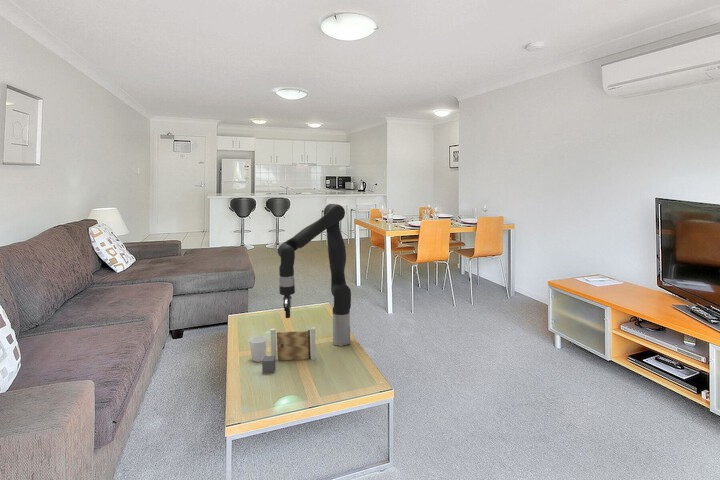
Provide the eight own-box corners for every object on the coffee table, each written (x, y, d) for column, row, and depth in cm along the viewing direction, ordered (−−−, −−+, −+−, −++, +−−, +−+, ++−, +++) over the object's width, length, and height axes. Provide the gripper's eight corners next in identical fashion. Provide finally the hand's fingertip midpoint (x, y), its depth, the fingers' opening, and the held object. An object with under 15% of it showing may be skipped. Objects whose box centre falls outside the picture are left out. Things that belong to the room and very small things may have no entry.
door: (310, 358, 182) (310, 329, 180) (310, 360, 179) (309, 331, 177) (278, 359, 181) (276, 330, 178) (277, 362, 178) (276, 332, 176)
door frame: (315, 358, 182) (315, 327, 180) (315, 359, 180) (314, 328, 178) (272, 359, 181) (271, 328, 178) (271, 361, 179) (270, 330, 176)
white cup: (258, 363, 176) (257, 344, 175) (247, 359, 181) (246, 340, 179) (270, 357, 183) (269, 338, 182) (259, 353, 187) (258, 335, 186)
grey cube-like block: (275, 367, 173) (275, 355, 172) (273, 373, 168) (273, 360, 167) (264, 368, 172) (264, 356, 171) (262, 373, 167) (262, 361, 166)
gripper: (293, 287, 177) (294, 322, 179) (295, 280, 190) (296, 313, 192) (277, 288, 176) (278, 322, 179) (281, 281, 189) (282, 313, 192)
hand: (288, 317), depth 185 cm, fingers closed
